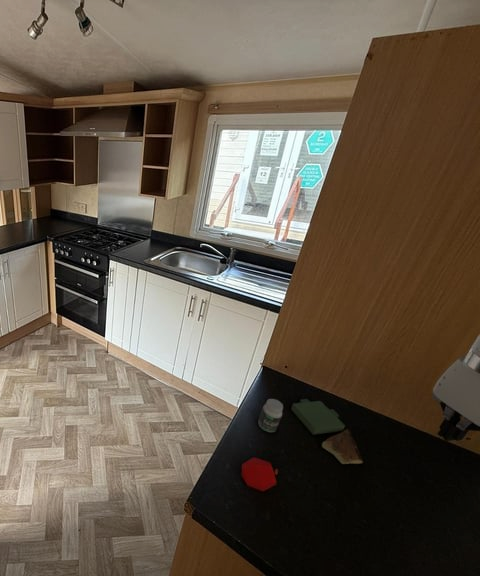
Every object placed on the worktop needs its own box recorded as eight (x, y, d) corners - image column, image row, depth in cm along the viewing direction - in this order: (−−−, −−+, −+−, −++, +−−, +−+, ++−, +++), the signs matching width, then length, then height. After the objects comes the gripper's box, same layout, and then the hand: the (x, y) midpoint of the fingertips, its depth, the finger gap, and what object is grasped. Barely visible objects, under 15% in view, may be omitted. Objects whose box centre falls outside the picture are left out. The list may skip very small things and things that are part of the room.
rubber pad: (318, 402, 96) (320, 397, 95) (346, 430, 86) (349, 425, 85) (288, 405, 94) (290, 400, 93) (313, 434, 85) (315, 429, 84)
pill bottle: (258, 429, 87) (265, 407, 83) (257, 416, 91) (264, 395, 87) (277, 435, 85) (285, 413, 81) (275, 422, 89) (283, 400, 85)
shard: (346, 432, 86) (349, 427, 85) (377, 456, 80) (380, 451, 79) (319, 444, 82) (321, 440, 82) (349, 471, 76) (352, 466, 75)
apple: (240, 474, 70) (279, 472, 67) (235, 452, 76) (271, 449, 73) (247, 499, 71) (286, 499, 68) (242, 475, 77) (277, 474, 75)
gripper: (578, 394, 49) (512, 469, 57) (465, 339, 62) (425, 406, 70) (537, 400, 48) (476, 475, 56) (432, 342, 61) (395, 410, 69)
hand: (448, 436), depth 63 cm, fingers closed
